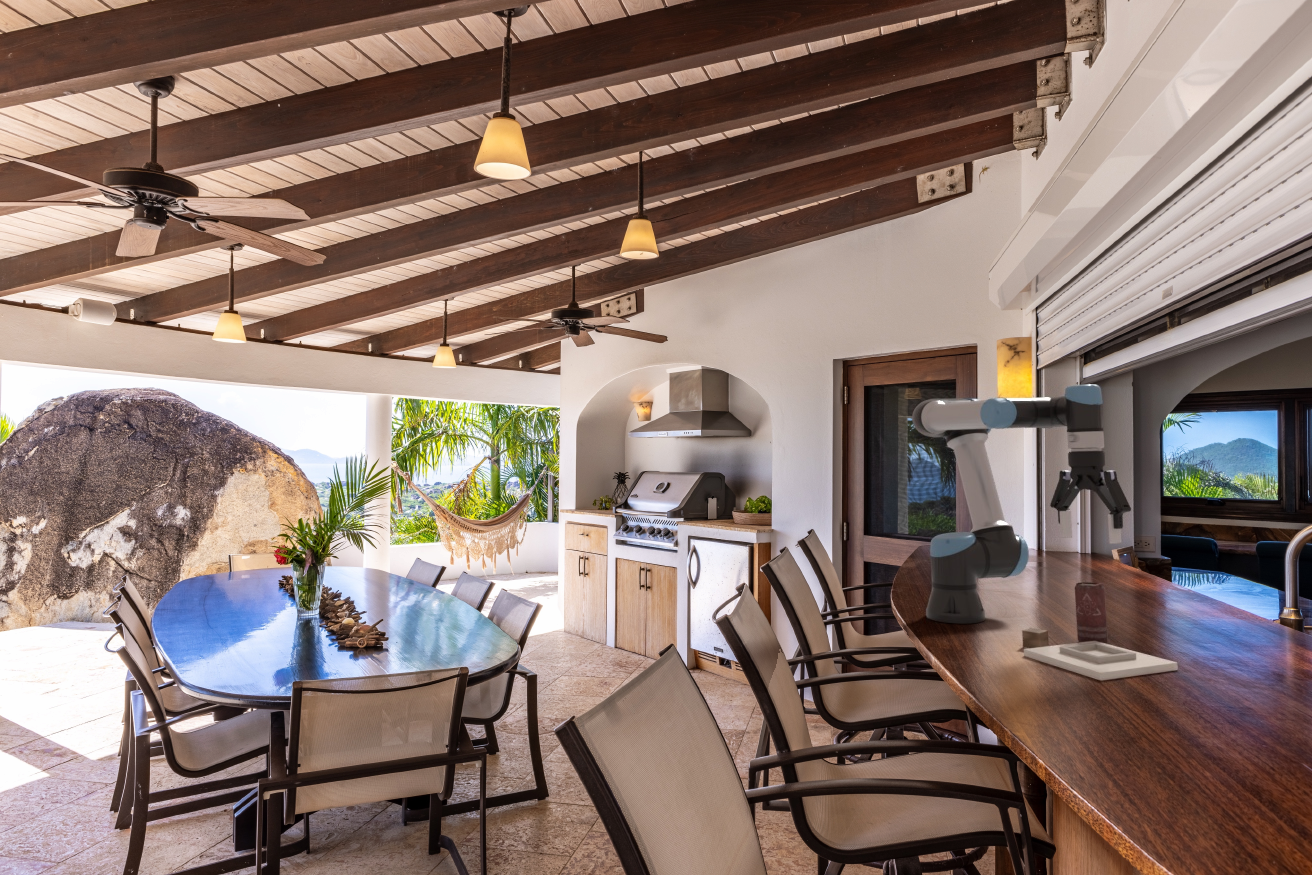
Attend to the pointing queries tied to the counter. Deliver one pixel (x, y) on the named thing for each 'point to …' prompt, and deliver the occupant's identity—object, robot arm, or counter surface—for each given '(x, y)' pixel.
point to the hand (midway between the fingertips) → (1090, 540)
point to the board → (1100, 660)
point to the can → (1091, 612)
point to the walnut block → (1035, 638)
